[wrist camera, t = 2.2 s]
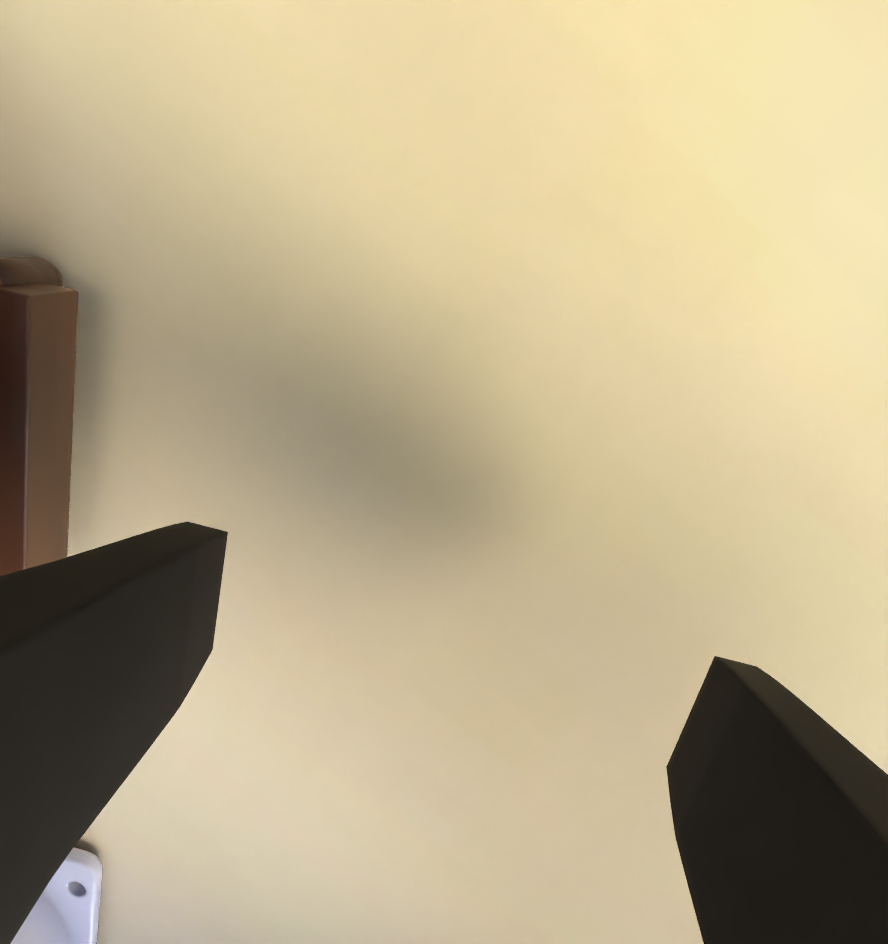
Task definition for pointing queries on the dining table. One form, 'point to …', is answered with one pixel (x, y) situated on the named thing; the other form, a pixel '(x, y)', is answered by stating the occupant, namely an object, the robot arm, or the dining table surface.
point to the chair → (35, 411)
